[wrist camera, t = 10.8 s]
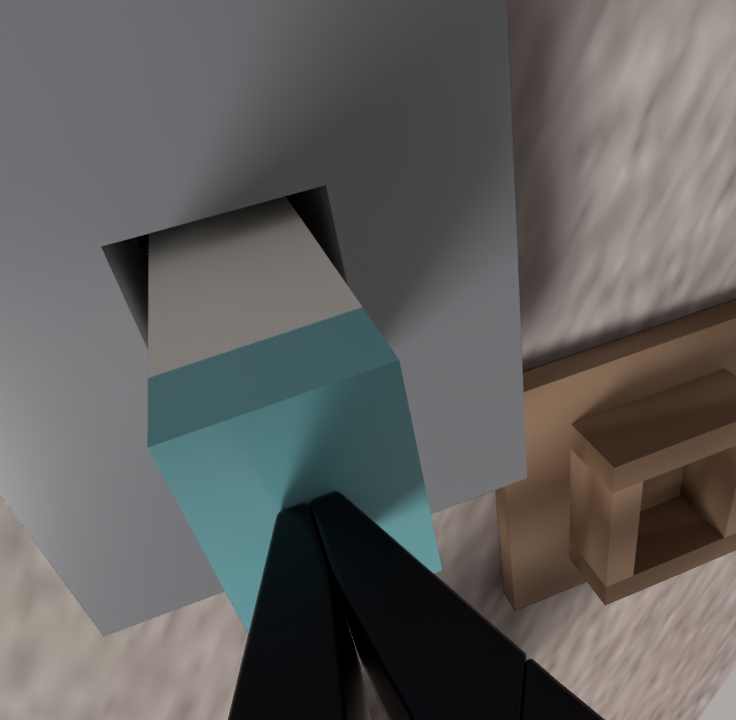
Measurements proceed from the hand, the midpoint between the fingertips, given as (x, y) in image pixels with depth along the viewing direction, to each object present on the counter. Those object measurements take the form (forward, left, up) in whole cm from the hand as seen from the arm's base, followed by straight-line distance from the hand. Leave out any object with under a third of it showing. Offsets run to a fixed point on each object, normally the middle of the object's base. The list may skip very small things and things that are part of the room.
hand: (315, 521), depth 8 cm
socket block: (0, 0, -10) cm, 10 cm away
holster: (-13, -13, -10) cm, 21 cm away
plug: (0, 0, -10) cm, 10 cm away
